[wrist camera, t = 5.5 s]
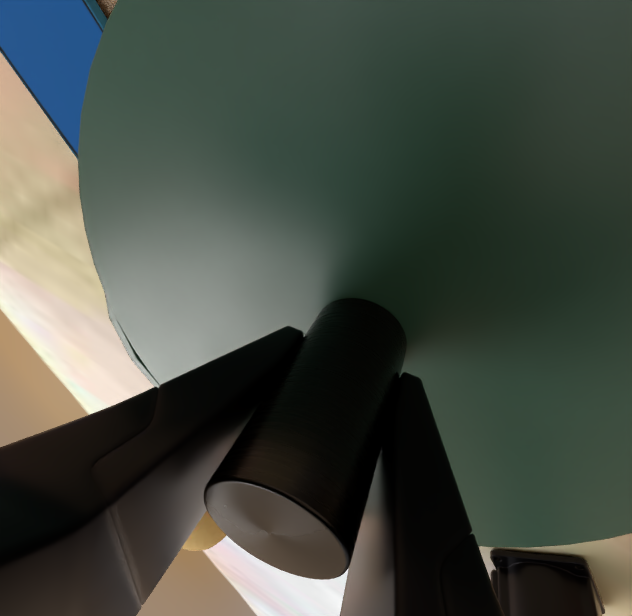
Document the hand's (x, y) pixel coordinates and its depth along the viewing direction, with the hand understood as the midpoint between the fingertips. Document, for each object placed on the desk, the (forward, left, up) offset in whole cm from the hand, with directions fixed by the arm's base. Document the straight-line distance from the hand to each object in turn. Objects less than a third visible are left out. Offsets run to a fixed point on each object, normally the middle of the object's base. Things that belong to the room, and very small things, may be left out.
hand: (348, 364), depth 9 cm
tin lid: (0, 0, -2) cm, 2 cm away
